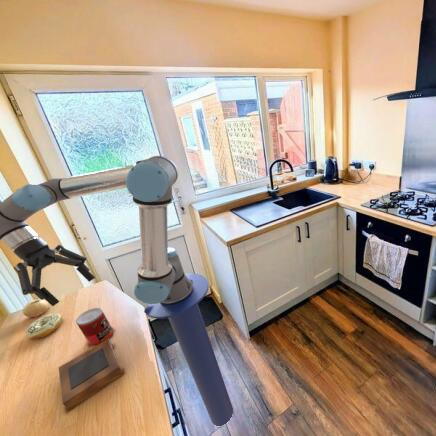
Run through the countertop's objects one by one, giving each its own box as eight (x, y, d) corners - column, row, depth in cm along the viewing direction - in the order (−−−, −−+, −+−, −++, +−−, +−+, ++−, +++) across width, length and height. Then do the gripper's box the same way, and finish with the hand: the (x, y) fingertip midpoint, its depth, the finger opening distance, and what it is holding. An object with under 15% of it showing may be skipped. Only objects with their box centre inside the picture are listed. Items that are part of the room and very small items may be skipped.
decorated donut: (26, 345, 93) (21, 338, 92) (33, 327, 101) (28, 320, 100) (61, 330, 98) (56, 323, 97) (64, 314, 107) (60, 308, 105)
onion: (31, 322, 104) (22, 309, 101) (24, 316, 108) (15, 304, 105) (54, 309, 111) (46, 297, 108) (47, 304, 114) (39, 292, 111)
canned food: (105, 344, 90) (92, 323, 85) (83, 346, 90) (69, 324, 85) (118, 327, 97) (106, 306, 92) (98, 329, 97) (86, 308, 92)
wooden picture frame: (112, 345, 89) (108, 338, 88) (123, 373, 78) (119, 366, 77) (63, 374, 80) (58, 367, 79) (68, 410, 70) (62, 403, 68)
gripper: (57, 233, 93) (98, 275, 98) (-30, 269, 70) (30, 321, 75) (68, 224, 91) (110, 267, 96) (-16, 257, 68) (44, 311, 73)
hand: (75, 291), depth 85 cm, fingers open, 13 cm apart
